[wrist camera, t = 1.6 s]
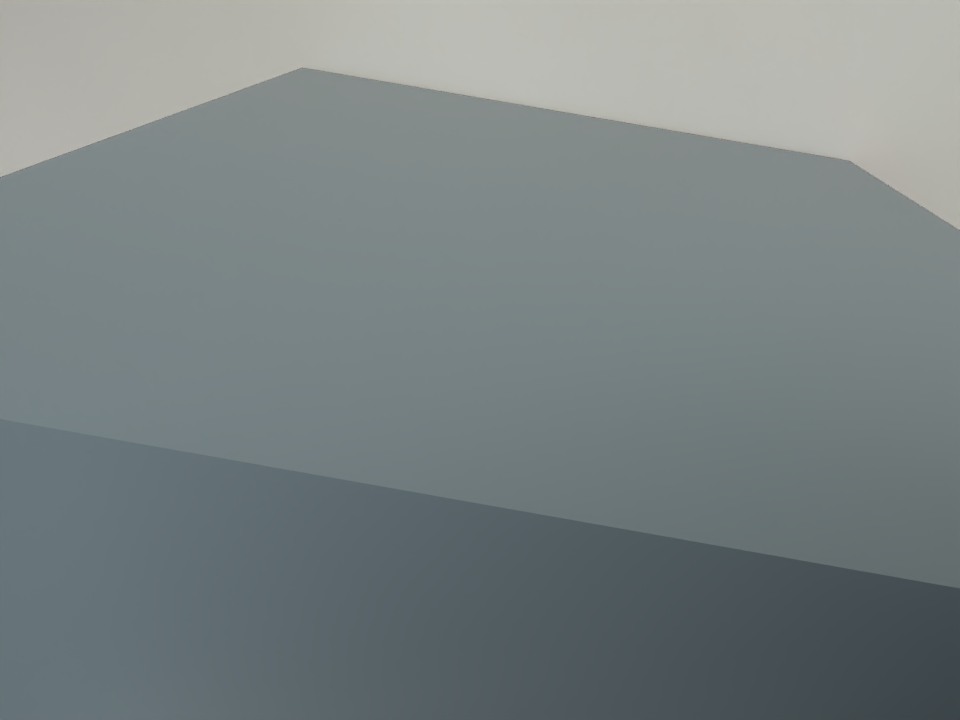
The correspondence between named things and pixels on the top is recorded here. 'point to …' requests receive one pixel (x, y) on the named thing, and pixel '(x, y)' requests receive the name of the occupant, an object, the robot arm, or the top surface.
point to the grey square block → (471, 421)
